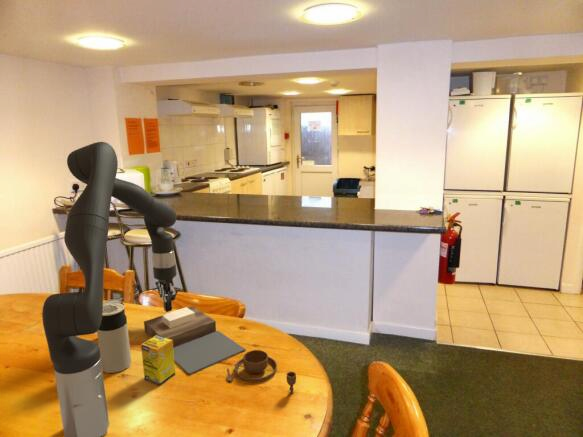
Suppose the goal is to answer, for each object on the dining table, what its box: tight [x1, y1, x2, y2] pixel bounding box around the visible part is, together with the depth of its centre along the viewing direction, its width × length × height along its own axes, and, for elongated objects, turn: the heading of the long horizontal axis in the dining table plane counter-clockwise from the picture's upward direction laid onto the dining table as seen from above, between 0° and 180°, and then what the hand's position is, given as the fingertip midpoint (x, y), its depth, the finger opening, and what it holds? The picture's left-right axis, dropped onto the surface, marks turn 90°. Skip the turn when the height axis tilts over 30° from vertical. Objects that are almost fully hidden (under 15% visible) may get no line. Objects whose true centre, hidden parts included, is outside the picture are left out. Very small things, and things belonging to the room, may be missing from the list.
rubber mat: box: [173, 330, 246, 376], centre depth 127 cm, size 16×19×1 cm
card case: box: [161, 306, 195, 328], centre depth 138 cm, size 6×9×2 cm, turn 131°
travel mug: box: [96, 303, 132, 374], centre depth 118 cm, size 8×8×18 cm
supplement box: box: [140, 335, 176, 386], centre depth 113 cm, size 6×6×11 cm
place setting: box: [226, 349, 297, 395], centre depth 112 cm, size 18×20×6 cm
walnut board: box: [143, 305, 217, 348], centre depth 138 cm, size 16×18×4 cm
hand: (168, 310), depth 144 cm, fingers closed
